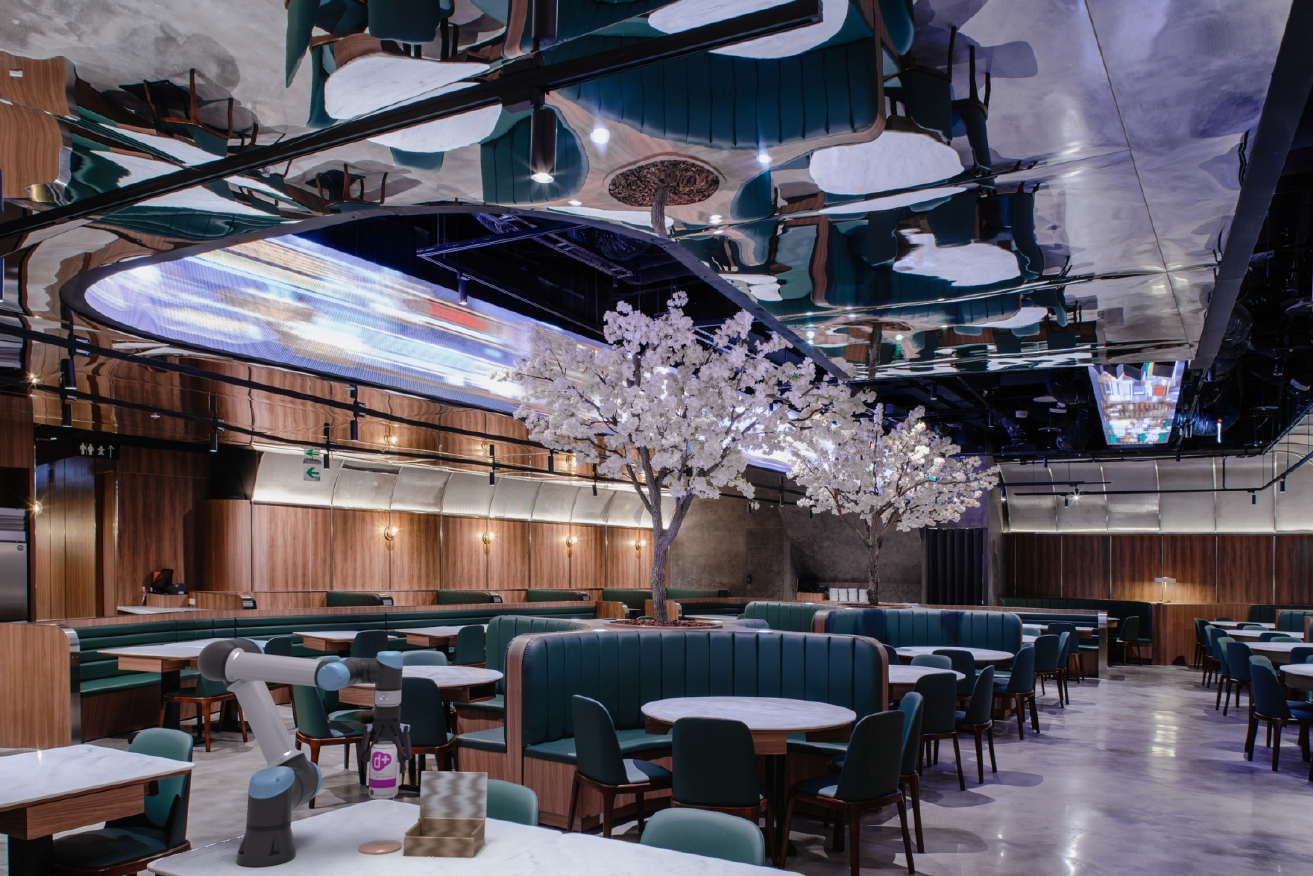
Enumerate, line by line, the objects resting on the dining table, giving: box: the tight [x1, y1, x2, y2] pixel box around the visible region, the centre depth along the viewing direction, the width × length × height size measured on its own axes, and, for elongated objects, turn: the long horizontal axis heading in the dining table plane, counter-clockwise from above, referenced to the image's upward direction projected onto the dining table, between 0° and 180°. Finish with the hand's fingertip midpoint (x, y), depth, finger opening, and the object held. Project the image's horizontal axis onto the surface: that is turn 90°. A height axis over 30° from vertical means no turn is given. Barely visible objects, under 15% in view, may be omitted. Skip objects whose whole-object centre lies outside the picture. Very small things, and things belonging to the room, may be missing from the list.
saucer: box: [358, 839, 403, 856], centre depth 259 cm, size 12×12×1 cm
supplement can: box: [368, 740, 399, 800], centre depth 262 cm, size 8×8×15 cm
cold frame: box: [402, 770, 488, 859], centre depth 260 cm, size 20×14×20 cm
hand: (383, 784), depth 262 cm, fingers closed on supplement can, 8 cm apart
